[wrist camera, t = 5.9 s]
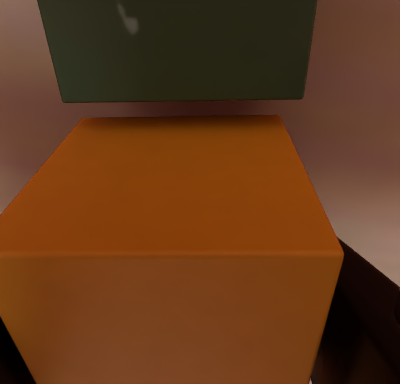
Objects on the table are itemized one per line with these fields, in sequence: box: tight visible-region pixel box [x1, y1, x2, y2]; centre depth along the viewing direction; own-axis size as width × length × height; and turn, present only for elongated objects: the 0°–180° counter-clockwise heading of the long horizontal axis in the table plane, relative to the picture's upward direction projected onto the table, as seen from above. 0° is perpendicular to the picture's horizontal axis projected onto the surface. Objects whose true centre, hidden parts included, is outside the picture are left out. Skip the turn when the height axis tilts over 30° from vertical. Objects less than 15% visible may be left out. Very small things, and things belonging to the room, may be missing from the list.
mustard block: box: [0, 115, 344, 384], centre depth 8 cm, size 5×5×5 cm
